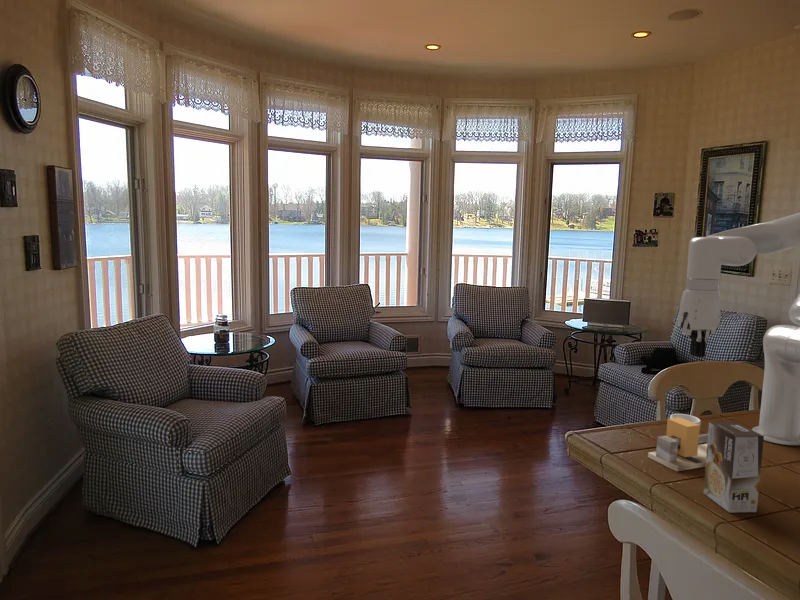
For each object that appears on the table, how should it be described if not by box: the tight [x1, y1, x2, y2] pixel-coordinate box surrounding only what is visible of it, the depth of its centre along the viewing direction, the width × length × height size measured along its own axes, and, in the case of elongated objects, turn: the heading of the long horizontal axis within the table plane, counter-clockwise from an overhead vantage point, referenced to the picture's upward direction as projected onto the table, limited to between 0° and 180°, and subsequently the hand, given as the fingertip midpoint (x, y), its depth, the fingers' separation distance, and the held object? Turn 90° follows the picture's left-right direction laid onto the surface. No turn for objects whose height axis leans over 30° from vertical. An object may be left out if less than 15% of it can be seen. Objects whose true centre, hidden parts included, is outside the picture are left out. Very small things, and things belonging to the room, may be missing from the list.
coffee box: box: [703, 421, 765, 513], centre depth 119 cm, size 9×6×16 cm
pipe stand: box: [647, 433, 708, 472], centre depth 142 cm, size 20×9×6 cm, turn 111°
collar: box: [665, 417, 701, 457], centre depth 140 cm, size 4×6×8 cm, turn 21°
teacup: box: [669, 413, 702, 426], centre depth 157 cm, size 10×8×5 cm
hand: (697, 355), depth 148 cm, fingers closed
